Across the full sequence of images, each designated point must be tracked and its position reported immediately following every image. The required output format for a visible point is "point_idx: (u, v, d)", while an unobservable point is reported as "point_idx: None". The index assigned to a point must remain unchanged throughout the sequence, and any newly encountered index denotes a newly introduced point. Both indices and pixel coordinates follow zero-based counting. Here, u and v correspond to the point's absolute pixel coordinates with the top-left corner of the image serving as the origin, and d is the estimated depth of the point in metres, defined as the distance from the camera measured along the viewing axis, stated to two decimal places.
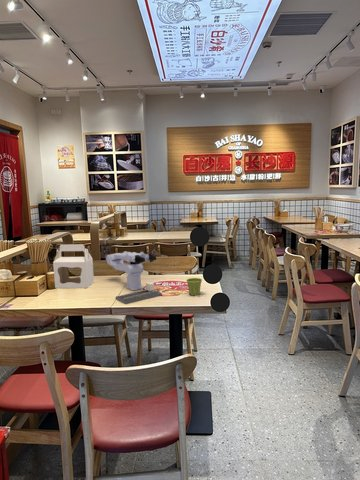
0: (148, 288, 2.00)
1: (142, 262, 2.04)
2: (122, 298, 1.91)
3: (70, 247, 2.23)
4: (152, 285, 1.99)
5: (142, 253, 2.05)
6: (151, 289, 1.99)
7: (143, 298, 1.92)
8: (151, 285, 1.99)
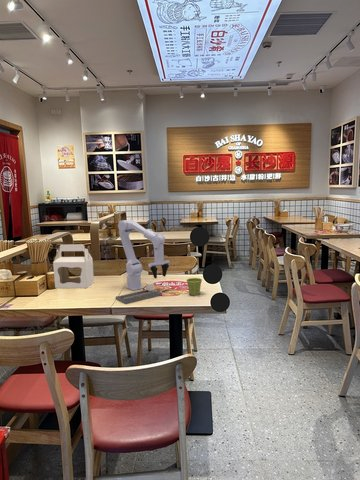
0: (148, 288, 2.00)
1: None
2: (122, 298, 1.91)
3: (70, 247, 2.23)
4: (152, 285, 1.99)
5: (162, 264, 2.01)
6: (151, 289, 1.99)
7: (143, 298, 1.92)
8: (151, 285, 1.99)
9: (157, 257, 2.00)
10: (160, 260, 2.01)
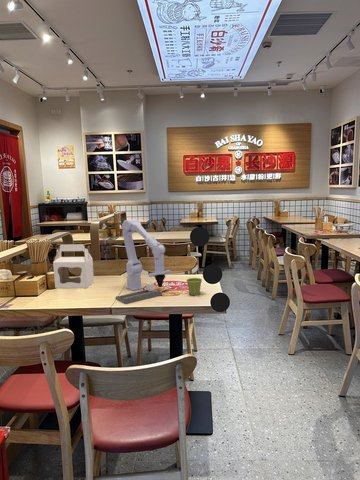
0: (148, 288, 2.00)
1: None
2: (122, 298, 1.91)
3: (70, 247, 2.23)
4: (152, 285, 1.99)
5: (162, 274, 2.02)
6: (151, 289, 1.99)
7: (143, 298, 1.92)
8: (151, 285, 1.99)
9: (157, 267, 2.01)
10: (160, 270, 2.01)
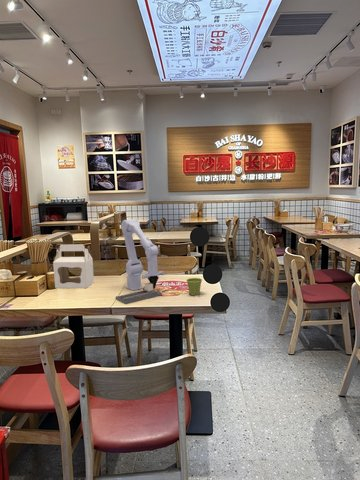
0: (147, 288, 1.99)
1: None
2: (122, 298, 1.91)
3: (70, 247, 2.23)
4: (151, 285, 1.99)
5: None
6: (150, 289, 1.99)
7: (143, 298, 1.92)
8: (150, 285, 1.98)
9: (151, 268, 1.98)
10: (154, 271, 1.99)
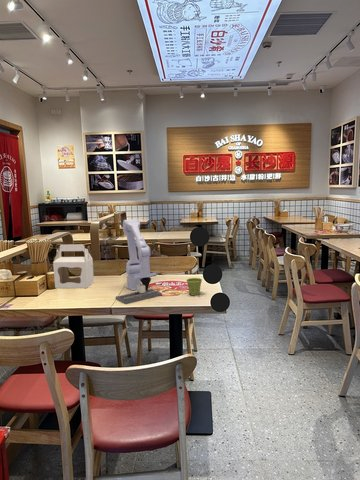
0: (139, 290, 1.96)
1: None
2: (122, 298, 1.91)
3: (70, 247, 2.23)
4: (143, 287, 1.96)
5: (148, 276, 1.96)
6: (142, 291, 1.95)
7: (143, 298, 1.92)
8: (142, 287, 1.95)
9: (143, 270, 1.95)
10: (146, 273, 1.95)
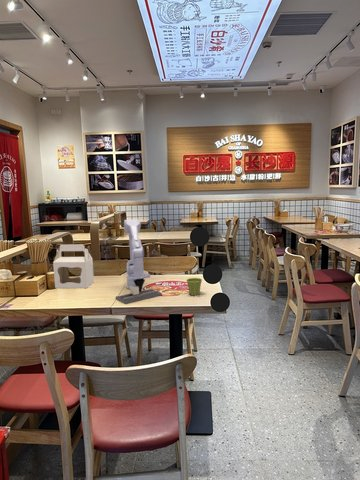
0: (132, 292, 1.94)
1: None
2: (122, 298, 1.91)
3: (70, 247, 2.23)
4: (136, 288, 1.93)
5: (141, 278, 1.93)
6: (135, 293, 1.93)
7: (143, 298, 1.92)
8: (135, 288, 1.93)
9: (136, 271, 1.92)
10: (139, 274, 1.93)
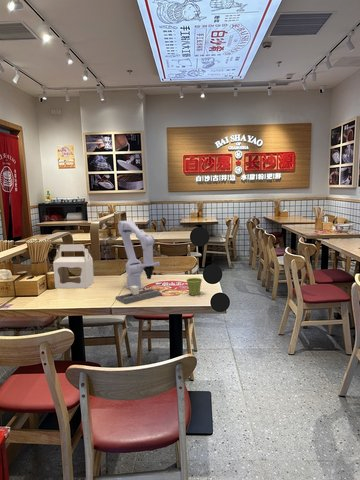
0: (132, 292, 1.94)
1: None
2: (122, 298, 1.91)
3: (70, 247, 2.23)
4: (136, 288, 1.93)
5: (151, 265, 1.98)
6: (135, 293, 1.93)
7: (143, 298, 1.92)
8: (135, 288, 1.93)
9: (146, 258, 1.98)
10: (149, 261, 1.98)
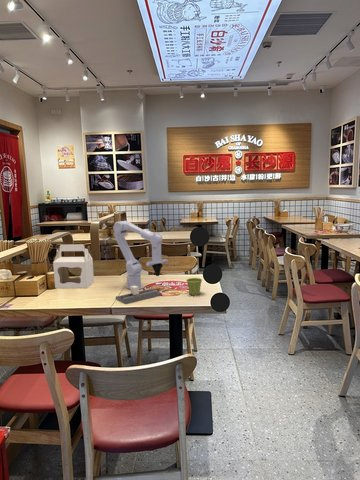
0: (132, 292, 1.94)
1: None
2: (122, 298, 1.91)
3: (70, 247, 2.23)
4: (136, 288, 1.93)
5: (159, 263, 2.05)
6: (135, 293, 1.93)
7: (143, 298, 1.92)
8: (135, 288, 1.93)
9: (155, 256, 2.04)
10: (158, 259, 2.04)
